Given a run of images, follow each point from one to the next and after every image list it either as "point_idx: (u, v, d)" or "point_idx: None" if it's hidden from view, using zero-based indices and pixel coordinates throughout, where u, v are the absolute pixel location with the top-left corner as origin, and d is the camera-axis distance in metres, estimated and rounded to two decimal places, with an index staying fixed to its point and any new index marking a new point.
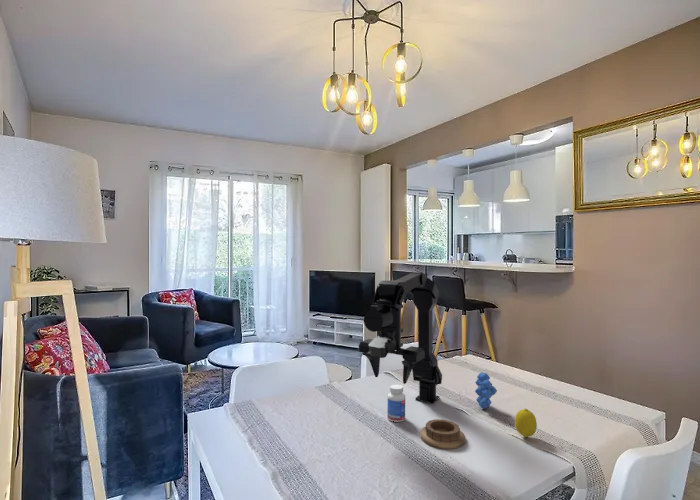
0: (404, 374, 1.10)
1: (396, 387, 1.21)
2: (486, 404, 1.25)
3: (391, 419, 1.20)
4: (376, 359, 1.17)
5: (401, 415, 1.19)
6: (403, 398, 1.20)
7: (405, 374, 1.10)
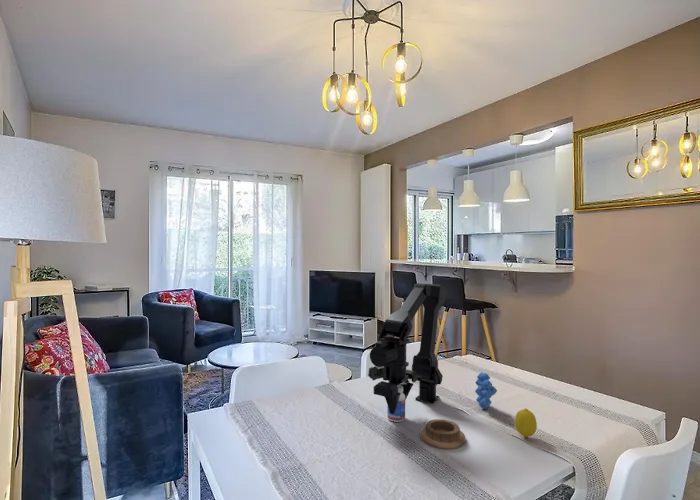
0: None
1: None
2: (486, 404, 1.25)
3: (391, 419, 1.20)
4: None
5: (401, 415, 1.19)
6: (403, 398, 1.20)
7: None
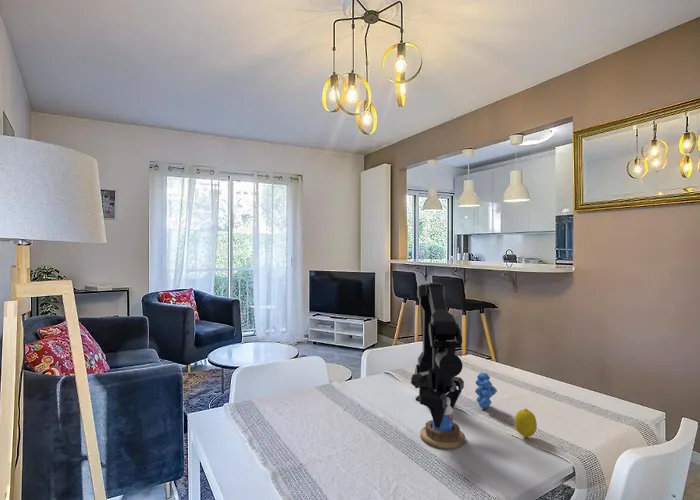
0: None
1: None
2: (486, 404, 1.25)
3: None
4: None
5: (449, 431, 1.08)
6: (451, 411, 1.08)
7: None
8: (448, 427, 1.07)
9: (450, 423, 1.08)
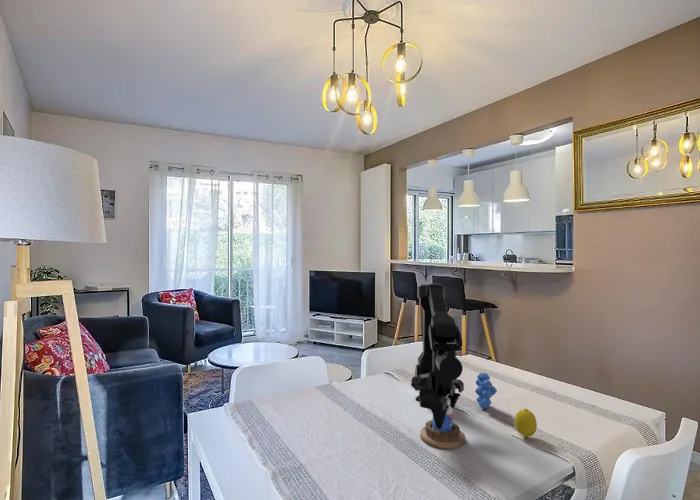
0: None
1: None
2: (486, 404, 1.25)
3: None
4: None
5: (449, 431, 1.08)
6: (451, 411, 1.08)
7: None
8: (448, 427, 1.07)
9: (450, 423, 1.08)
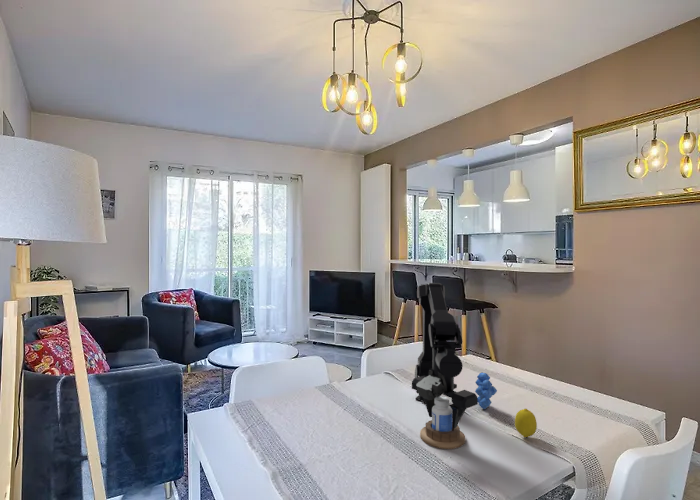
0: (453, 418, 1.05)
1: (445, 399, 1.09)
2: (486, 404, 1.25)
3: None
4: None
5: None
6: None
7: (454, 418, 1.05)
8: None
9: None
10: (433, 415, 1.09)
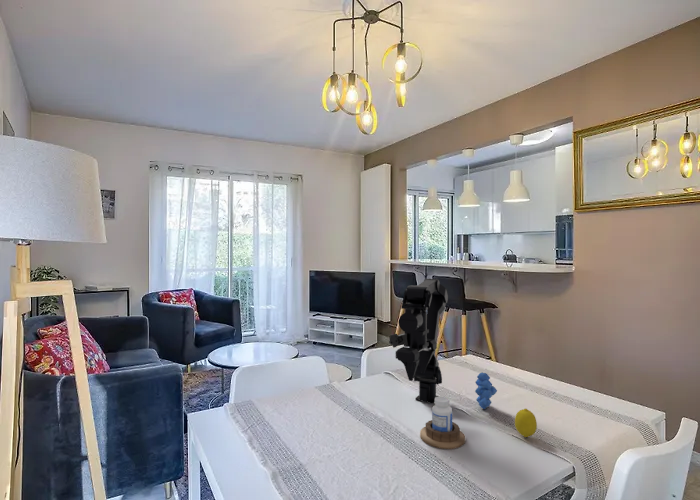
0: None
1: (444, 398, 1.10)
2: (486, 404, 1.25)
3: None
4: (423, 357, 1.28)
5: None
6: None
7: None
8: None
9: None
10: (444, 418, 1.07)
